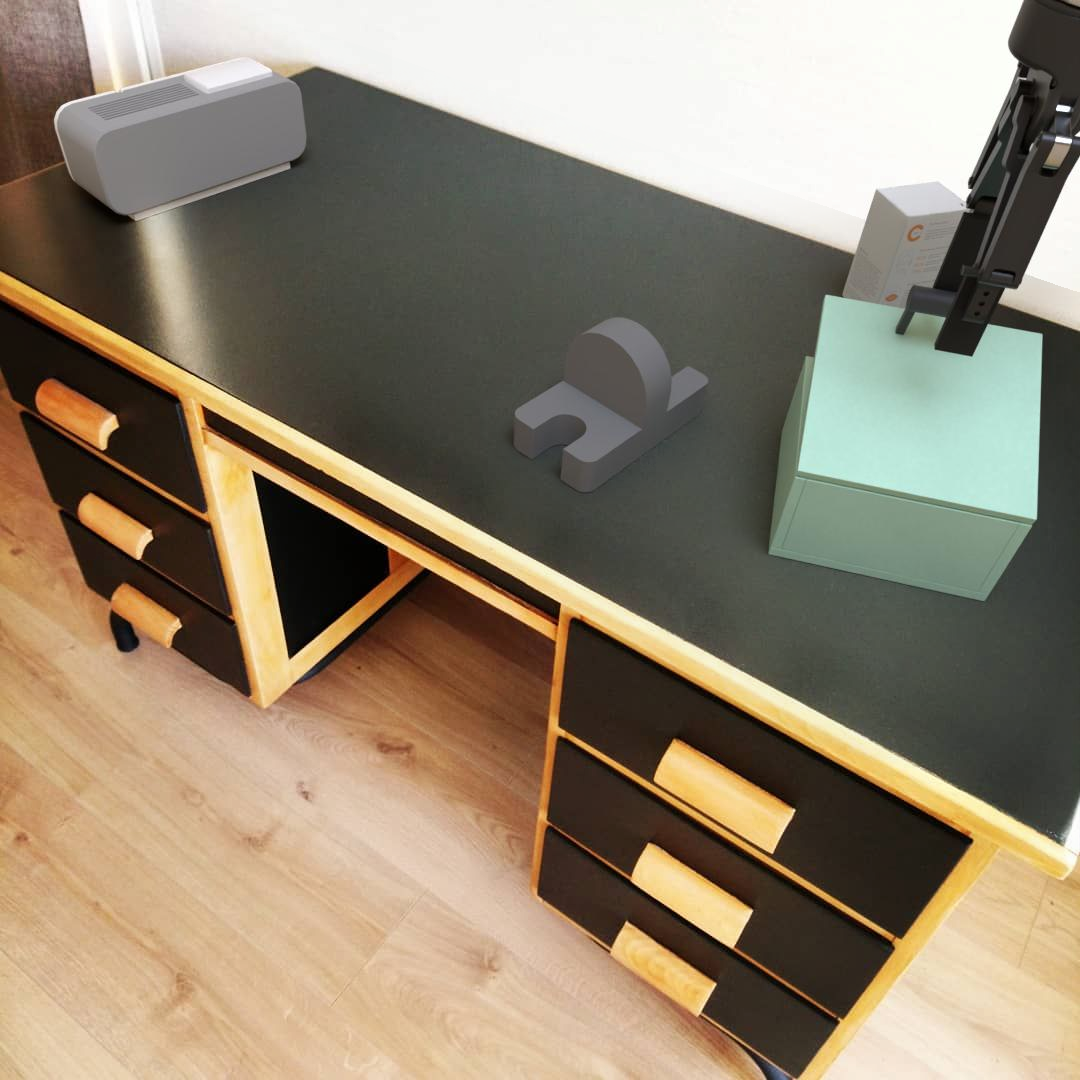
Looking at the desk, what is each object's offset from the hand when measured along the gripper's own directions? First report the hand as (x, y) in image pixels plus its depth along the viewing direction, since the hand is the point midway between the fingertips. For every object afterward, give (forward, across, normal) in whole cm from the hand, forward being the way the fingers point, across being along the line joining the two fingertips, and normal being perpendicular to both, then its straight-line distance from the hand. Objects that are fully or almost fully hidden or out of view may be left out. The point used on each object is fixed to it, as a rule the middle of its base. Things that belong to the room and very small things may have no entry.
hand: (951, 320), depth 72 cm
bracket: (+19, -1, -25) cm, 31 cm away
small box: (+19, -32, +1) cm, 38 cm away
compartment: (+18, +3, 0) cm, 19 cm away
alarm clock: (+19, -31, -84) cm, 92 cm away
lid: (+7, +2, 0) cm, 7 cm away
